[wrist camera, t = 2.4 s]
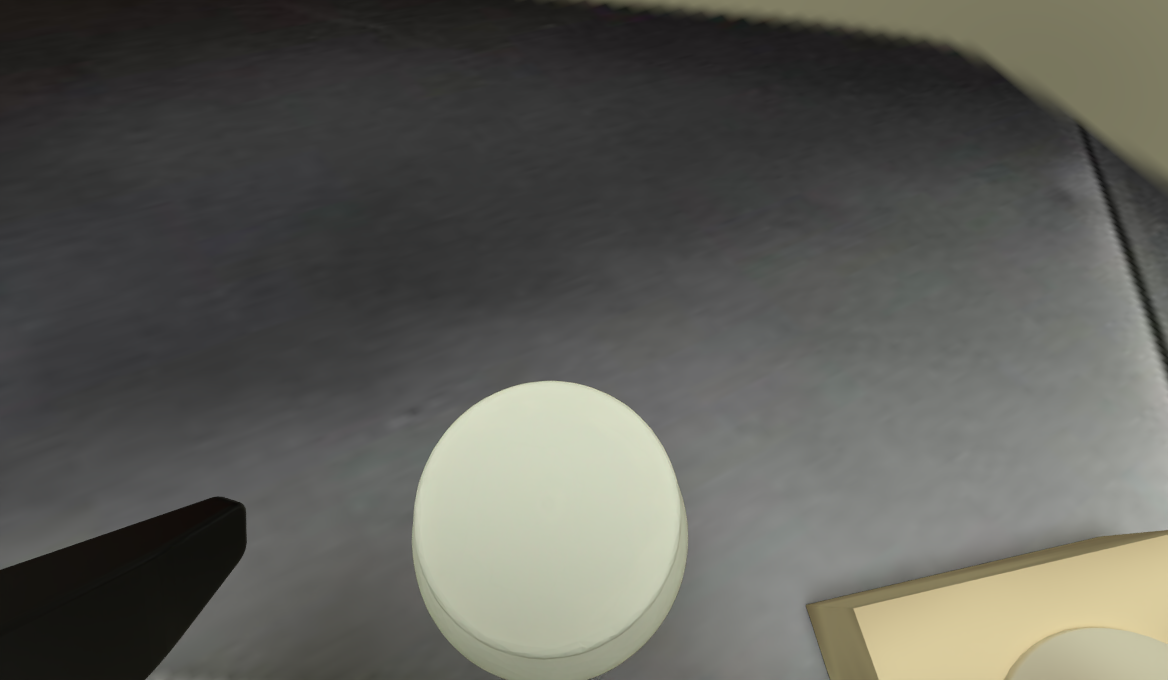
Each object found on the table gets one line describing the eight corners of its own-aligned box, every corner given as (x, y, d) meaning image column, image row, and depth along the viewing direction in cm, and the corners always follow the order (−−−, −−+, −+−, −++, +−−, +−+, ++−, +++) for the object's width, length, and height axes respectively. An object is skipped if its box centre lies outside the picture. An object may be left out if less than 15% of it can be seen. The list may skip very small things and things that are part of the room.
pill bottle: (639, 658, 16) (732, 752, 7) (454, 638, 16) (306, 704, 7) (648, 469, 18) (727, 353, 9) (485, 452, 18) (405, 321, 9)
